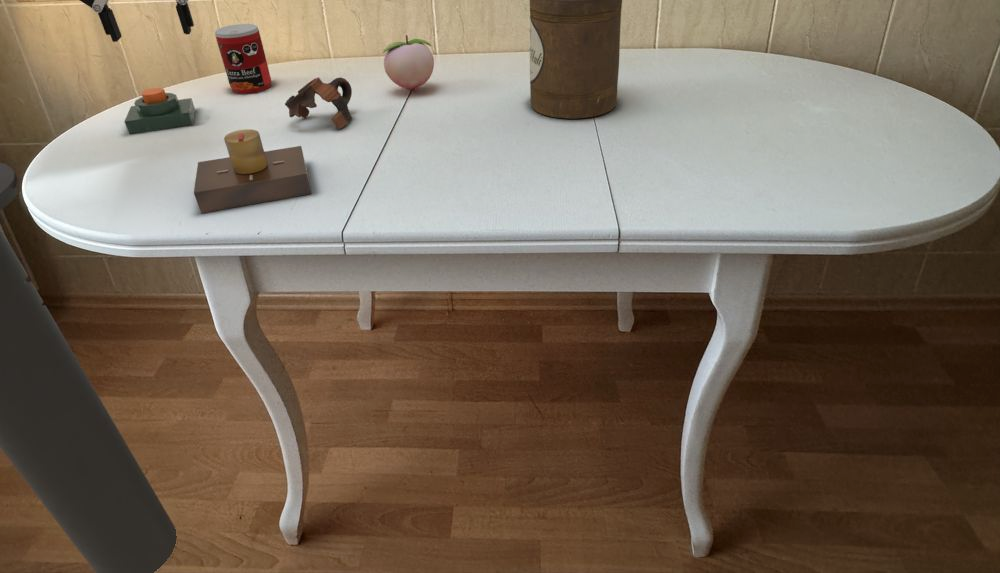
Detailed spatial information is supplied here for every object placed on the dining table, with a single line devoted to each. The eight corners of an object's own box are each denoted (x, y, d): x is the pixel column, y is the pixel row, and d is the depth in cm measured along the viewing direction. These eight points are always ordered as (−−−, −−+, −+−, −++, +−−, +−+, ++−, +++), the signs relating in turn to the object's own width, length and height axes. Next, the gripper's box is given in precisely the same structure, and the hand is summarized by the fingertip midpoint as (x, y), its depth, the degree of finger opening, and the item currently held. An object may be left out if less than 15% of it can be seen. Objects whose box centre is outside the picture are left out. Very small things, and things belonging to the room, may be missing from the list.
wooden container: (544, 87, 116) (544, -45, 103) (623, 93, 111) (634, -44, 98) (518, 115, 104) (515, -30, 92) (605, 123, 100) (615, -28, 87)
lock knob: (234, 163, 85) (224, 129, 82) (267, 158, 86) (258, 125, 83) (233, 176, 82) (222, 141, 79) (267, 171, 83) (258, 136, 80)
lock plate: (201, 213, 80) (193, 191, 78) (204, 181, 88) (197, 160, 86) (311, 193, 83) (306, 172, 82) (305, 164, 91) (300, 144, 89)
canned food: (225, 94, 119) (207, 34, 113) (240, 81, 126) (224, 24, 119) (264, 93, 119) (248, 33, 112) (277, 80, 125) (263, 23, 119)
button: (143, 106, 104) (139, 95, 103) (146, 99, 107) (142, 89, 106) (166, 103, 105) (163, 92, 104) (168, 96, 108) (165, 86, 107)
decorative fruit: (404, 102, 112) (397, 45, 106) (381, 92, 117) (372, 36, 111) (446, 90, 116) (442, 34, 111) (422, 80, 122) (417, 26, 116)
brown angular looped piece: (332, 139, 100) (296, 96, 96) (304, 152, 107) (270, 112, 103) (375, 98, 106) (343, 56, 102) (346, 112, 113) (315, 74, 109)
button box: (129, 134, 104) (119, 110, 102) (135, 118, 110) (126, 96, 108) (192, 124, 106) (185, 102, 104) (195, 110, 113) (188, 88, 110)
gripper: (179, -106, 86) (216, 24, 96) (40, -99, 83) (94, 36, 92) (173, -103, 81) (213, 35, 90) (23, -95, 77) (82, 49, 87)
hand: (153, 35), depth 91 cm, fingers open, 9 cm apart
